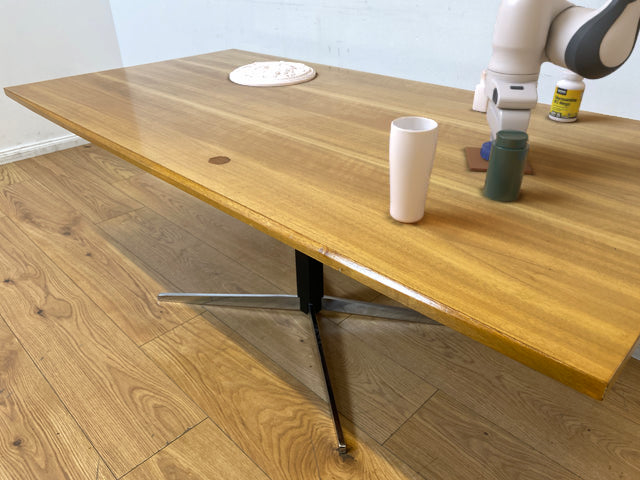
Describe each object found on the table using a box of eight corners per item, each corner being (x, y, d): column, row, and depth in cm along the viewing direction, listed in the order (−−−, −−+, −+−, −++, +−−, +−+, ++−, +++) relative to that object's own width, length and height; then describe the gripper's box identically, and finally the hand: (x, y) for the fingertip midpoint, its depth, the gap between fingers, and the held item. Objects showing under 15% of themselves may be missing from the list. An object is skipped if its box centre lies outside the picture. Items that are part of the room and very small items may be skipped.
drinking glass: (428, 228, 73) (439, 132, 65) (383, 225, 74) (389, 130, 66) (427, 207, 79) (438, 117, 71) (386, 204, 80) (391, 115, 72)
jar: (514, 187, 85) (527, 128, 79) (522, 202, 80) (536, 141, 74) (480, 186, 85) (490, 127, 80) (486, 201, 80) (497, 140, 75)
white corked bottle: (493, 109, 123) (500, 71, 118) (485, 113, 121) (492, 74, 116) (479, 106, 126) (485, 68, 121) (471, 110, 123) (477, 71, 118)
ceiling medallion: (323, 67, 167) (323, 58, 166) (303, 88, 144) (302, 77, 143) (247, 64, 173) (246, 55, 171) (216, 84, 150) (214, 73, 148)
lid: (481, 161, 92) (483, 152, 91) (478, 148, 98) (480, 139, 96) (515, 164, 92) (517, 154, 91) (510, 151, 97) (512, 142, 96)
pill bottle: (545, 120, 116) (556, 72, 110) (551, 113, 120) (562, 67, 114) (573, 124, 113) (586, 75, 107) (578, 117, 117) (591, 70, 111)
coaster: (520, 152, 99) (521, 149, 98) (531, 174, 89) (532, 171, 89) (465, 149, 100) (465, 146, 100) (470, 170, 91) (470, 167, 91)
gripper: (485, 72, 97) (474, 138, 104) (499, 100, 79) (485, 178, 87) (518, 72, 96) (505, 139, 103) (540, 102, 78) (522, 180, 86)
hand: (496, 157), depth 95 cm, fingers closed on coaster, lid, 6 cm apart
